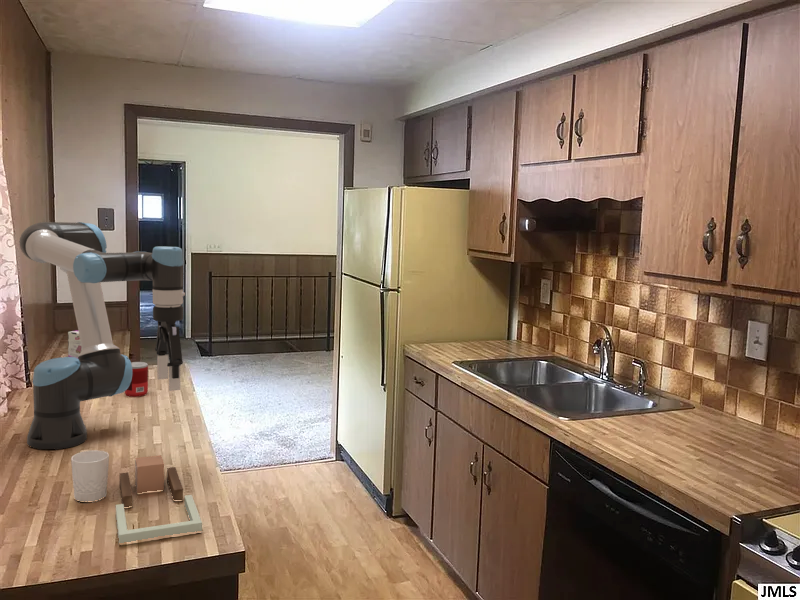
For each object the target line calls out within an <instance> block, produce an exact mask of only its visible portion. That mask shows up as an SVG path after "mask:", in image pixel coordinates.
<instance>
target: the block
mask: <svg viewBox="0 0 800 600" xmlns="http://www.w3.org/2000/svg"><path fill="white" fill-rule="evenodd" d="M134 461H135V468H134V469H135V471H134V473H135V476H134V477H135V479H134V483H135V485H136V486H135V491H136V490H137V491H136V494H137V493H142V492H147V491H157V490H164V489H165V463H164V459H163V457H162V455H161V454H159V455H152V456H151V455H150V456H149V455H148V456H140V457H135V460H134ZM164 491H165V490H164Z"/></svg>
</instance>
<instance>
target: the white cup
mask: <svg viewBox="0 0 800 600" xmlns="http://www.w3.org/2000/svg"><path fill="white" fill-rule="evenodd" d="M109 457H110V454H109V453H108V451H105V450H97V449H94V450H93V449H92V450H85V451H84V450H83V451H81V452H78V453H75V454H73V455H71V461H70V462H71V474H72V475H71V478H72V488H73V498H75V499H76V500H79V501H84V502H85V501H87V502H88V501H95V500H99V499H101V498H103V497H105V498H106V497H107V485H108V482H109V481H108V480H109V479H108V478H109ZM75 499H74V500H75ZM103 499H104V498H103ZM76 500H75V501H76ZM99 501H100V500H99Z"/></svg>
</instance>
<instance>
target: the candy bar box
mask: <svg viewBox="0 0 800 600" xmlns="http://www.w3.org/2000/svg"><path fill="white" fill-rule="evenodd" d="M81 351H82V346H81V341H80V336H79V331H78V329H75V330H72V331H68V332H67V357H75V358H78V355H79V354H80V353H81Z"/></svg>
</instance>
